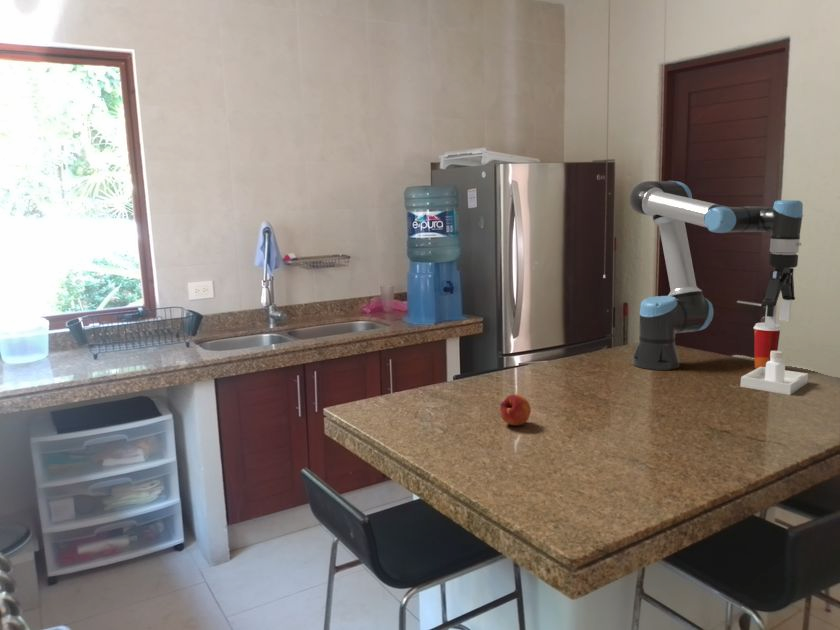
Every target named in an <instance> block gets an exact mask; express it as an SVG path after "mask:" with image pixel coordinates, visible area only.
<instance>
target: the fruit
mask: <svg viewBox="0 0 840 630" xmlns="http://www.w3.org/2000/svg"><path fill="white" fill-rule="evenodd" d="M499 406H500V408H499V409H500V410H499V412H500V418H501V419H502V421H503V422H504V423H506V424H507V425H511V426H521V425H523V424H525V423H526V422H527V421H529V418H530V415H531V412H532V409H531V405H530V402H529V401H528V400H527V398H525V397H524V396H522V395H520V394H510V395H508V396H507V397H504V400H502V402H501V403H500V405H499Z"/></svg>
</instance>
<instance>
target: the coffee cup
mask: <svg viewBox="0 0 840 630" xmlns="http://www.w3.org/2000/svg"><path fill="white" fill-rule="evenodd" d="M764 326H765V322H757V323H755V324H754V326H753V330H754V347H753V349H754V352H753V353H754V357H753V358H754V360H753V361H754V369H757V368H759V367H766V363H767V362H768V361H770V352H771V351H779V340H780V334H781V331H782V328H781V324H778V323H776V324H775V328H770V327H764Z"/></svg>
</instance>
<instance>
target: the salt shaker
mask: <svg viewBox="0 0 840 630" xmlns="http://www.w3.org/2000/svg"><path fill="white" fill-rule="evenodd" d="M782 359H783V351H780V350H777V351H771V352H770V361H768V362H767V363H766V372H765V380H767V381H773V382H780V383H783V382H784V374H785V370H786V363H785V362H784V361H782Z"/></svg>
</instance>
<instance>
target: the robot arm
mask: <svg viewBox="0 0 840 630" xmlns="http://www.w3.org/2000/svg"><path fill="white" fill-rule="evenodd" d="M629 203H630V207H631V209H632V210H634V212H636V213H637V214H641V215H645V216H650V217H652V219H653V221H652V222H653V223H654V224H655V225H657V226H658V228H659V233H660V241H661V244H662V249H663V255H664V260H665V261H664V262H665V267H666V272H667V278H668V283H669V284H668V285H669V288H670V292H669V294H668V295H660V296H656V295H655V296H649V297H646V298H644V299H643V300H642V301H641V303H640V310H639V329H638V331H639V332H638V333H639V334H638V344H637V346H636V349H635V352H634V354H633V357H632V365H633V366H636V367H638V368H642V369H647V370H656V371H657V370H659V371H667V370H668V371H669V370H675V369H678V368H679V367H680V357H679V353H678V351H677V347H676V334H681V333H695V332H697V331H702V330H705V329H706V328H707V327H708V326H709V325H710V323H711V322H712V320H713V318H714V307H713V304H712V302H711V301H709V299H708V298H706V297H704V294H703V290H702V289H700V288H699V287H698V286H697V282H696V275H695V271H694V267H693V266H694V265H693V260H692V254H691V250H690V243H689V240H688V233H687V228H686V223H688V224H692V225H695V226H699V227H704V228H707V229H708V231H709V232H710V233H715V234H717V233H718V234H725V233H726V234H727V233H748V232H749V233H751V232H752V233H753V232H754V233H755V232H758V233H760V232H762V233H770V244H769V252H770V254H769V258H768V266H769V267H771V268H774V270H770V273H769V278H768V279H769V280H768V284H767V289H766V291H765V292H766V293H765V295H764V296H765V297H764V301H762V305H764V306H766V308H765V316H764V317H765V318H764V323H765V326H764V327H770V328H775V324H777V313H778V305H777V304H778V301H779V300H778V299H779V298H780V294H781V296H782V298H781V299H780V309H779V317H778V319H779V320H778V321H780V322H781V321H782V322H790V320H791V319H790V318H791V309H792V301H795V300H796V296H795V283H794V272H795V269H794V268H797V267H798V262H799V261H798V260H799V254H798V253H799V250H800V247H801V246H802V242H800V241H801V240H800V239H801V229H802V221H803V217H804V214H803V209H804V208H803V207H804V205H803V202H802V201H801V200H790V199H789V200H775V201H774V203H773V206H755V205H750V206H749V205H748V206H726V205H722V204H718V203H713V202H708V201H704V200H700V199H696V198H695V199H694V198H693V195H692V192H691V190H690V188H689V187H688V185H687V184H685V183H683V182H681V181H675V180H667V181H664V180H662V181H661V180H656V181H655V180H654V181H653V180H647V181H643V182H640V183H638V184H637V185H635V186H634V187H632V190H631V192H630V194H629Z"/></svg>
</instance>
